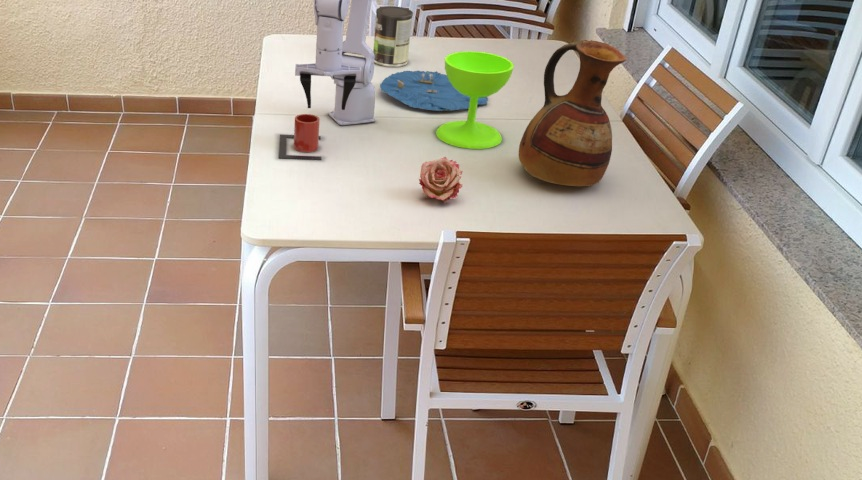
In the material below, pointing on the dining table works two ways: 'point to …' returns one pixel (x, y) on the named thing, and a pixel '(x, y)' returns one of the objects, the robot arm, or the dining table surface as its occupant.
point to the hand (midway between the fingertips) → (326, 107)
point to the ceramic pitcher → (572, 121)
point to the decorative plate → (426, 91)
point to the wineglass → (474, 96)
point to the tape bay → (283, 155)
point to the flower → (440, 179)
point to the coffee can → (392, 36)
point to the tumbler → (306, 133)
